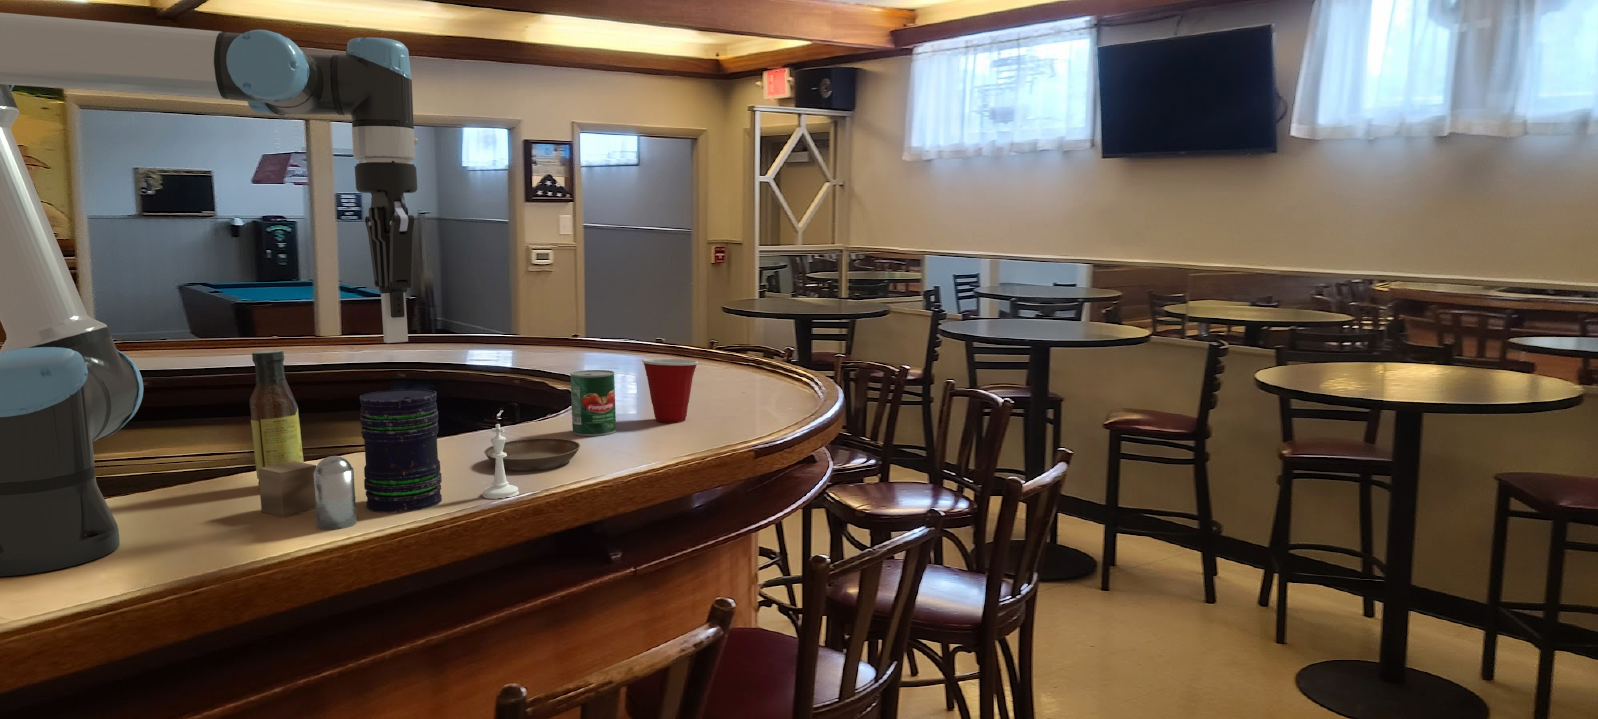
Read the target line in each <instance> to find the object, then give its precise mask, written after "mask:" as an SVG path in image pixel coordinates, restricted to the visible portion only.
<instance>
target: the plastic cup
mask: <svg viewBox="0 0 1598 719" xmlns="http://www.w3.org/2000/svg"><path fill="white" fill-rule="evenodd" d="M641 362H642V363H643V366H644V370H645V373H646V374H645V375H646V377H647V378H646V379H647V384H648V389H649V394H650V400H651V405H652V409H653V414H654V418H655V421H656V422H658V423H663V424H664V423H665V424H674V423H681V422H684V421H686V420H687V419H686V418H687V416H688V407H689V403H690V397H691V391H692V384H693V378H694V375H695V371H696V367H697V365H698V364H699V361H698V360H691V359H682V358H681V359H679V358H644V359H641Z"/></svg>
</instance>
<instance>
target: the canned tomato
mask: <svg viewBox="0 0 1598 719" xmlns="http://www.w3.org/2000/svg"><path fill="white" fill-rule="evenodd" d="M569 375H570V390H571V391H570V394H571V395H570V397H571V415H572V416H571V419H572V422H571V423H572V430H571V432H572V434H573V435H575V436H578V437H579V436H580V437H602V436H609V435H613V434H615V433H616V432H617V420H616V418H617V414H616V412H617V411H616V390H615V388H616V386H615V371H613V370H606V369H586V370H577V371H572V372H570V374H569Z"/></svg>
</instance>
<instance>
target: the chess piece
mask: <svg viewBox="0 0 1598 719" xmlns="http://www.w3.org/2000/svg"><path fill="white" fill-rule="evenodd" d="M491 432H492V433H495V436H493V437H491V438H490V442H491V444H492V446H493V447H494V450H495V453H493V454H492V456H491V457H493V458H496V465H495V464H494V465H495V466H494V467H495V468H494V476H493V477H494V478H493V482H492V483H491V484H492V485H490V486H488V487H486V488H484V489H483V491H482V497H483V498H486V499H490V500H491V499H492V500H499V499H498V498H503V499H506V498H505V497H510V498H513V496H514V497H516V496H518V495H519V494H520V492H519V487H518V486H516V485H513V484H509V483H510V482H509V481H507V476H506V472H505V470H506V469H504V464H503V457H506V456H507V454H506V453H504V452H503V448H504V444H505V442H507V441H506V440H507V438H506V436H502V435H501V433H505V428H501V424H500V423H497V424H495V428H493V427H492V428H491Z"/></svg>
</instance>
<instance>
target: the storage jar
mask: <svg viewBox="0 0 1598 719" xmlns="http://www.w3.org/2000/svg"><path fill="white" fill-rule="evenodd" d="M437 398H438V397H437V391H435V390H430V389H420V388H419V389H418V388H416V389H415V388H410V389H408V388H407V389H406V388H405V389H389V390H381V391H374V392H368V393H365V394H362V395H360V396H359V403H360V405H361V407H360V408H359V409H360V416H359V417H360V418H359V419H360V420H359V421H360V426H361V432H360V433H361V437H362V439H363V442H364V456H365V458H364V459H365V465H364V467H363V471H364V472H363V474H364V479H363V486H364V490H365V497H366V498H367V499H366V500H367V501H366V502H365V503H366V504H365V505H366V506H365V507H366V509H368V510H369V511H371V512H375V513H383V514H385V513H386V514H392V513H393V514H395V513H409V512H415V511H420V510H421V511H422V510H426V509H430V508H431V507H435V506H437V505H438V504H441V502H442V500H443V496H442V494H441V490H442V485H441V484H442V482H443V480H442V479H443V478H442V472H441V462H440V459H439V454H438V437H437V435H438V433H439V428H440V426H439V422H438V420H439V410H438V402H436V401H437Z"/></svg>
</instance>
